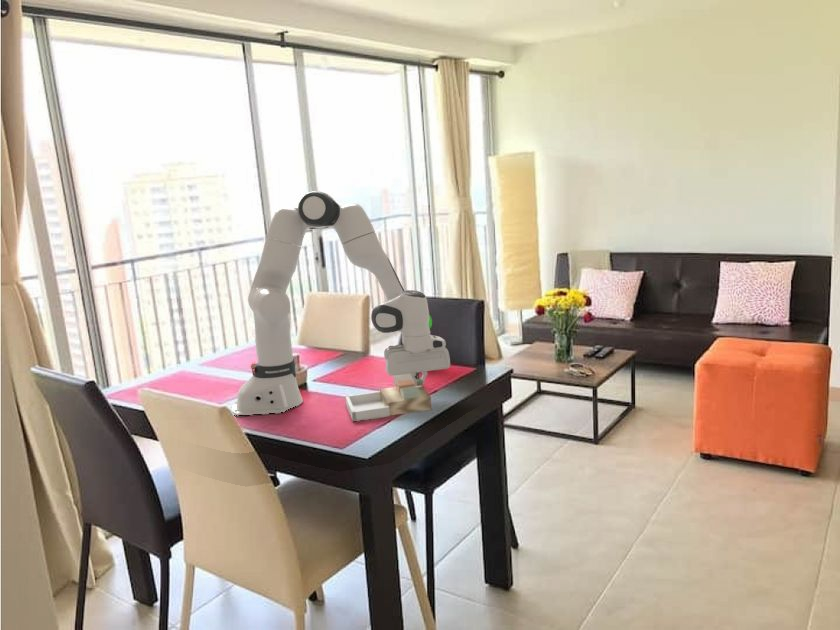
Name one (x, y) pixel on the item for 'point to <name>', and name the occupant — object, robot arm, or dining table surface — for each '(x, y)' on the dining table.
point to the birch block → (405, 401)
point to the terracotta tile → (404, 384)
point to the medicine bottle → (404, 377)
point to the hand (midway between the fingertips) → (419, 385)
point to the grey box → (366, 406)
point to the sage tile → (410, 392)
